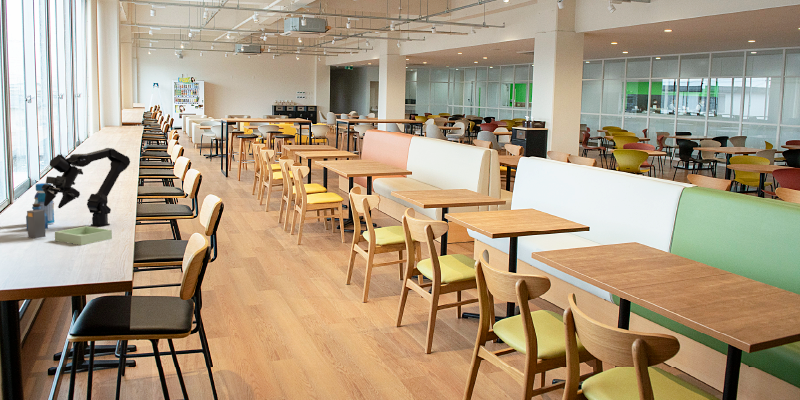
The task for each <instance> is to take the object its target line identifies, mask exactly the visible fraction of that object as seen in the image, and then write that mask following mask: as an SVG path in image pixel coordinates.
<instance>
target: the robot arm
mask: <svg viewBox="0 0 800 400" xmlns="http://www.w3.org/2000/svg"><path fill="white" fill-rule="evenodd" d="M106 158H107V159H108V161H110V169H109V171H108V172H107V175H106V177H105V178H104V180H103V182H102V184H101V185H100V187H99V189H98V191H97V192H96V193H91V194H90V195H89V198H87V202H86V206H87V208H88V211H89V213H90V214H92V217H91V222H92V223H90V226H91V227H98V228H101V227H105V226H110V225H111V223H109V222H108V221H109V218H108V217H109V216H108V214H111V211H112V210H111V208H110V206H109V205H108V200H109V199H108V196H109V194H110V193H111V191H112V190H113V187H114V185H115V184H116V183H117V180H118V178H119V176H120V175H121V173H122V172H124V171H125V170H127V168H128V167H129V166H130V164H131V161H130V160H131V159H130V157H129V156H127V155H125V154H123V153H121V152H119V151H118V150H116V149H115V148H113V147H112V148H111V147H105V148H103V149H99V150H96V151H92V152H88V153H73V154H70V156H69V157H67V158H66V157H64V156H63V155H62V154H57V155H56V156H55V157H53V158H52V159H51V160H50V161H49V167H51V168H53V169H54V170H56V171H57V172H59V173H61V175H57V176H56V177H55V176H48V175H47V176H46V180H45V183H48V184H44V185H43V186H42V189H43V191H44V192H45V201H44V206H47V205H48V204H49V203H50V202H51V201H52V200H53V201H54V199H55V198H56V197H57V195H58V194H59V193H60V194H62V196H61V199H60V201H59V203H58V206H57V208H58V209H61V208H63V207H64V206H66V205H68V203H70V202H72V201H73V200H76V199H79V198H80V196H81V193H80V191H79V190H78V189H76V188H74V186H75V185H76V182H75V181H76V180H77V177H78V175H84V172H83V168H84V167H86V166H88V165H90V164H91V163H92V162H95V161H99V160H103V159H106ZM78 167H80V168H78ZM49 184H51V185H49Z"/></svg>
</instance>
